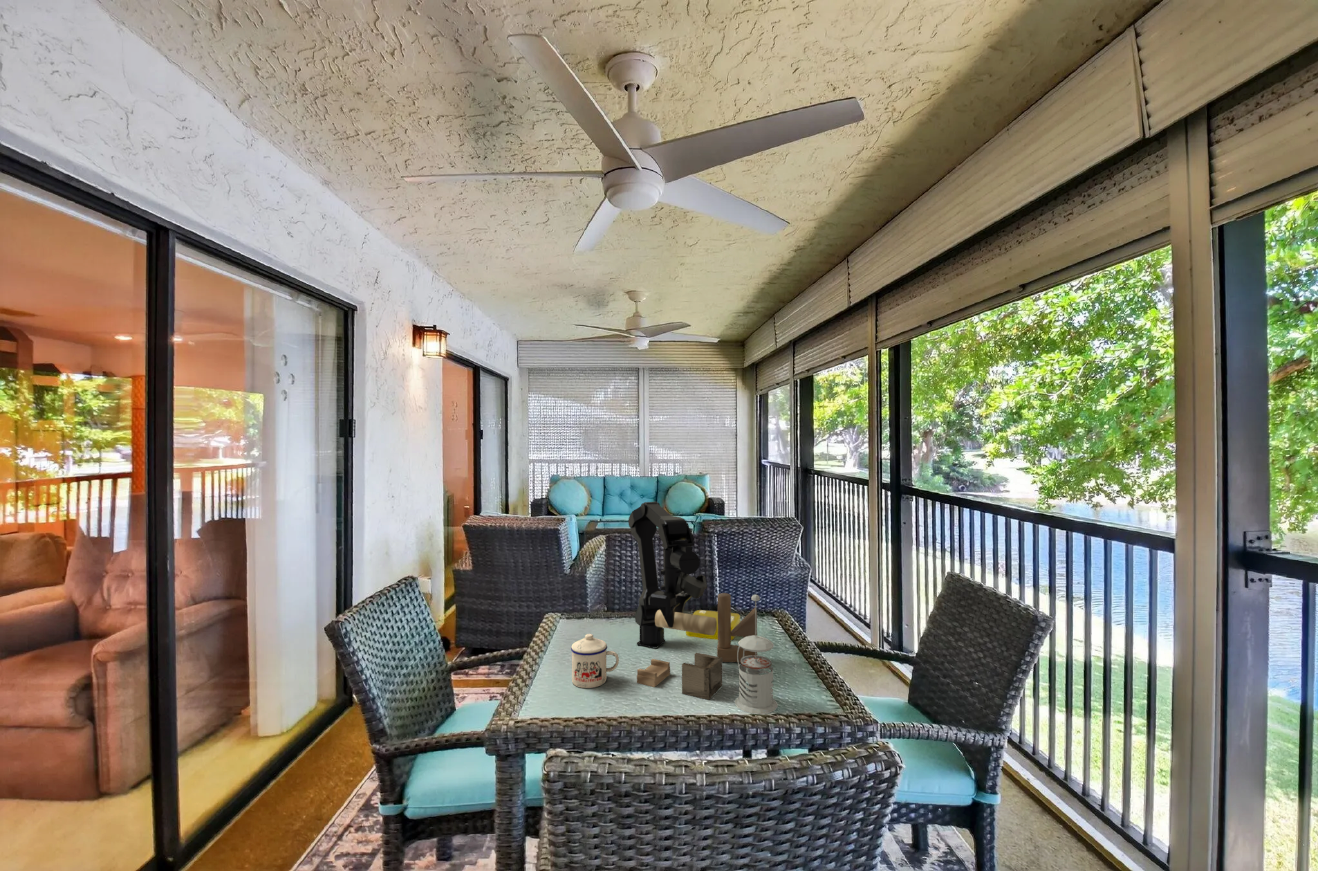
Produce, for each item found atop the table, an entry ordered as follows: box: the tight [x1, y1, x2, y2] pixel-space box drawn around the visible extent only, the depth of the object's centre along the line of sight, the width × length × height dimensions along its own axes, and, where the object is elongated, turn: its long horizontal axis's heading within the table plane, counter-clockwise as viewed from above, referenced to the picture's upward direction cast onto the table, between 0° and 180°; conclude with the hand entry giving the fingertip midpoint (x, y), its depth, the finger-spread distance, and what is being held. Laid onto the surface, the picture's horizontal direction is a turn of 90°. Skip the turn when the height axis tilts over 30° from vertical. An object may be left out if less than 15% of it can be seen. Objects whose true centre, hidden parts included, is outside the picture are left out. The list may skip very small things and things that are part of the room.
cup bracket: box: [681, 652, 724, 701], centre depth 136 cm, size 7×8×7 cm
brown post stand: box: [716, 592, 758, 663], centre depth 154 cm, size 4×11×18 cm, turn 86°
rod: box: [655, 610, 717, 635], centre depth 148 cm, size 16×4×4 cm, turn 63°
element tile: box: [685, 609, 741, 641], centre depth 178 cm, size 15×15×5 cm
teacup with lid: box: [570, 633, 620, 689], centre depth 142 cm, size 12×9×12 cm
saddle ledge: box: [636, 658, 671, 688], centre depth 143 cm, size 5×8×3 cm, turn 152°
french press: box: [734, 594, 779, 715], centre depth 130 cm, size 10×12×25 cm
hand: (674, 624), depth 150 cm, fingers closed on rod, 4 cm apart
